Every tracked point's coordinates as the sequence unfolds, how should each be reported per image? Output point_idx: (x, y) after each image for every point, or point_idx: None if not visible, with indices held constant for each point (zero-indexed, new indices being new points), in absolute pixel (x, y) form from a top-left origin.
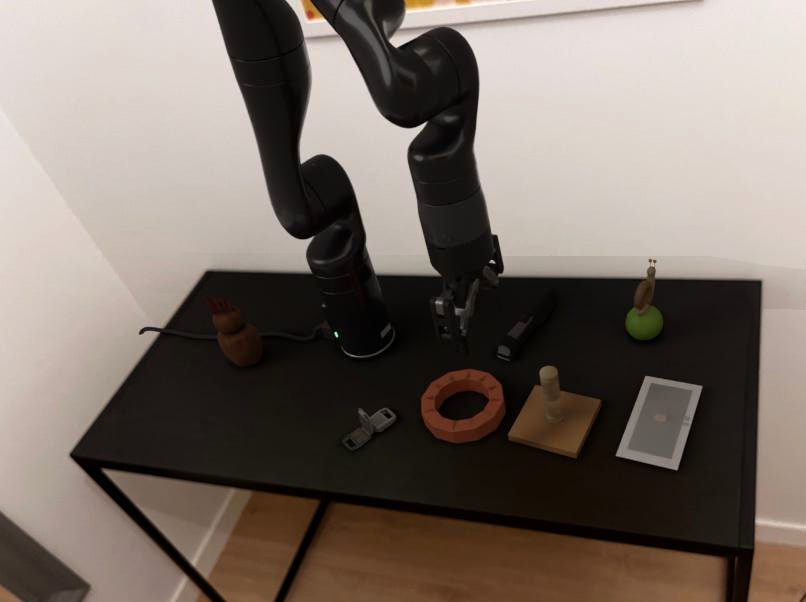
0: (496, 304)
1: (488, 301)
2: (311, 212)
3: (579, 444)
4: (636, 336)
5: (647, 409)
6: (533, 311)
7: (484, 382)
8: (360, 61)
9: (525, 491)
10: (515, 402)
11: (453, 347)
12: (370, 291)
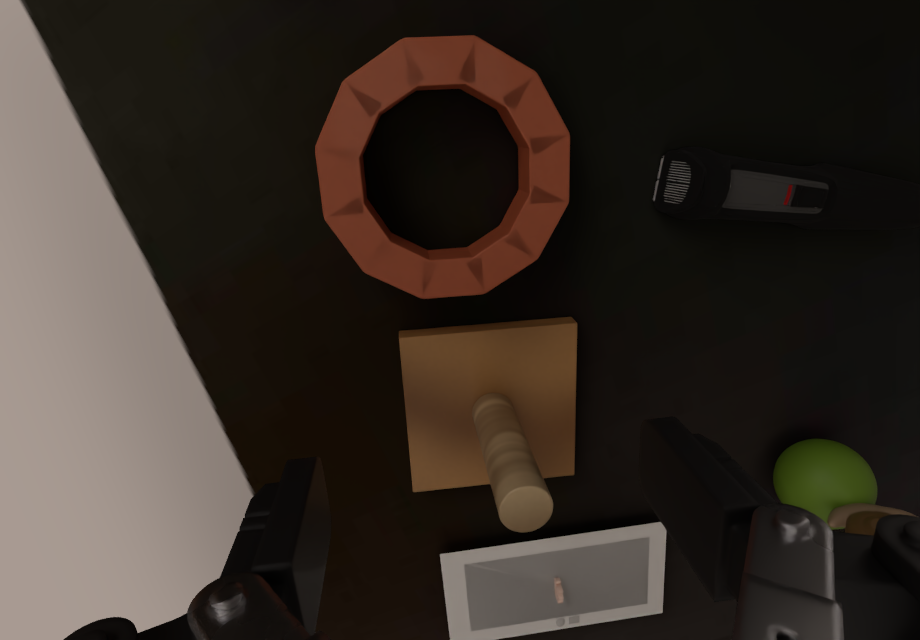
0: (661, 516)
1: (670, 484)
2: None
3: (437, 489)
4: (777, 476)
5: (576, 557)
6: (841, 207)
7: (529, 209)
8: None
9: (285, 429)
10: (517, 287)
11: (243, 528)
12: None
